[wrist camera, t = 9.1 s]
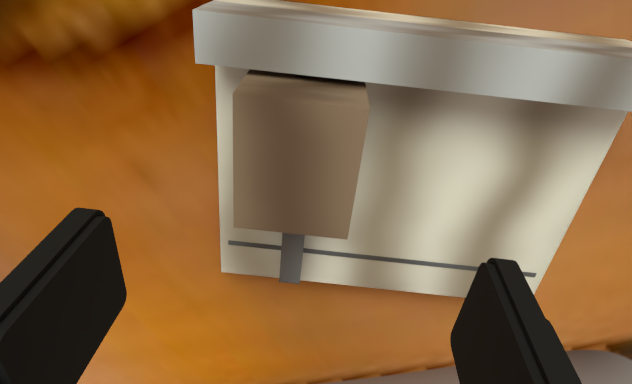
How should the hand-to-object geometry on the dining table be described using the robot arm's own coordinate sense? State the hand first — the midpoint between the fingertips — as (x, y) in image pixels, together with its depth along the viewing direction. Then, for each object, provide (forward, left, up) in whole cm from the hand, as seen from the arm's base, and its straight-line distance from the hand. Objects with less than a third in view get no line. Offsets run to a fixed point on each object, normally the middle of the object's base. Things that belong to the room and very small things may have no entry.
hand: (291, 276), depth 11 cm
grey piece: (-5, +3, -14) cm, 15 cm away
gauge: (0, +4, -12) cm, 12 cm away
